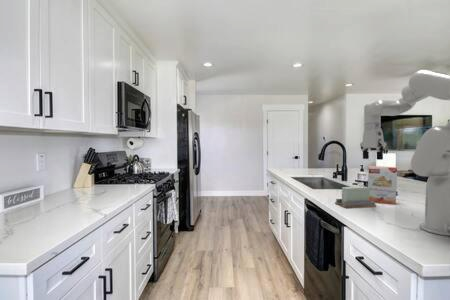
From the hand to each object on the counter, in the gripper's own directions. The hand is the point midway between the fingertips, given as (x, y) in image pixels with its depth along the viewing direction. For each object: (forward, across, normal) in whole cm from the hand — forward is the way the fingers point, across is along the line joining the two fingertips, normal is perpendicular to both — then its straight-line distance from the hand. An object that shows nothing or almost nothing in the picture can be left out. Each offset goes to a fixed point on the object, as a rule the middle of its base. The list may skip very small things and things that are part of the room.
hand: (372, 159), depth 135 cm
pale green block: (+25, +7, +5) cm, 26 cm away
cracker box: (+26, +11, -15) cm, 32 cm away
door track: (+26, +8, +5) cm, 27 cm away
